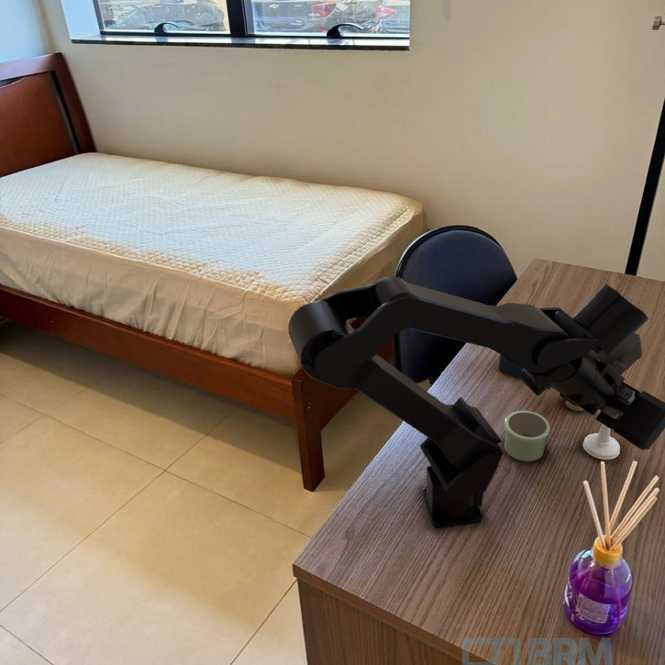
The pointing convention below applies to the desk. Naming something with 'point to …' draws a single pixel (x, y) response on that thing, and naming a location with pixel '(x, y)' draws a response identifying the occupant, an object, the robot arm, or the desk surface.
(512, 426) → the pot
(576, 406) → the mushroom
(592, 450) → the chess piece
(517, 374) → the watch
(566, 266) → the desk surface
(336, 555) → the desk surface
